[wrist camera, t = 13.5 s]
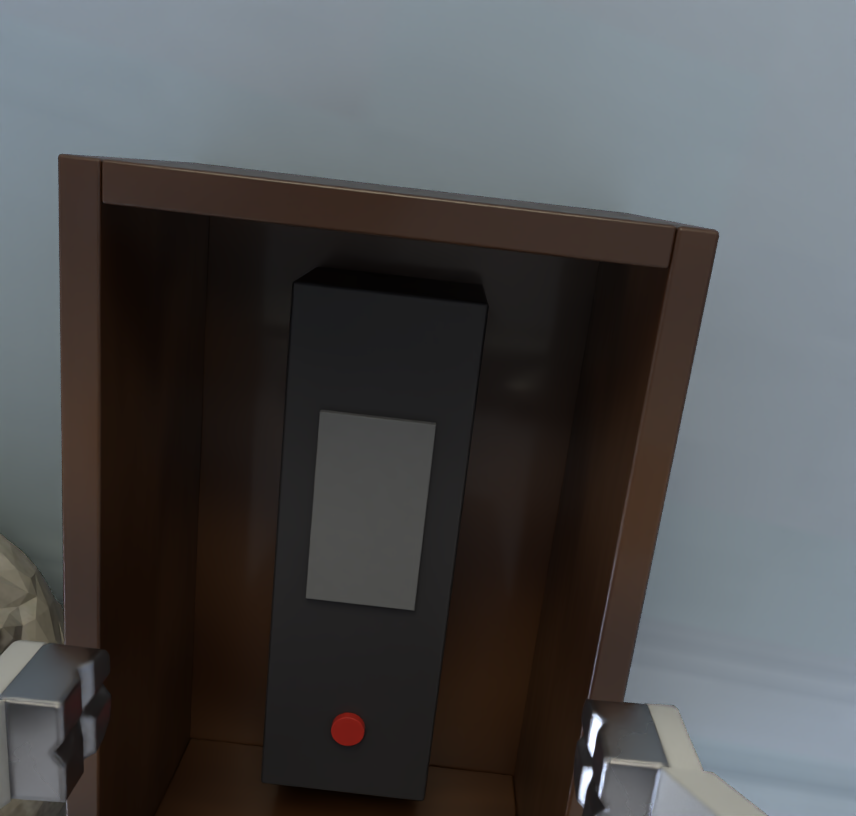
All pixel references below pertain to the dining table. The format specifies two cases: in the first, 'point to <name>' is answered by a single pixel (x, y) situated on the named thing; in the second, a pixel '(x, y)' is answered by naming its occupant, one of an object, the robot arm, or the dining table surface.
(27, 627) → the decorative shell
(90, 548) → the chest
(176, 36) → the dining table surface
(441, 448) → the remote
